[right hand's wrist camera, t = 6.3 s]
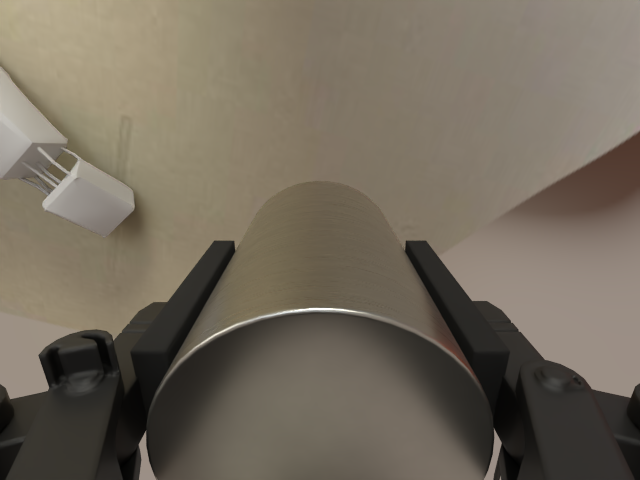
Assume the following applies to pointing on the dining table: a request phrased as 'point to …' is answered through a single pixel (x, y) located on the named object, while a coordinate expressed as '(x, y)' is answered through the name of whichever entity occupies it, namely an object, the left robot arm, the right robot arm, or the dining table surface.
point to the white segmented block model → (41, 151)
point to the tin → (320, 360)
